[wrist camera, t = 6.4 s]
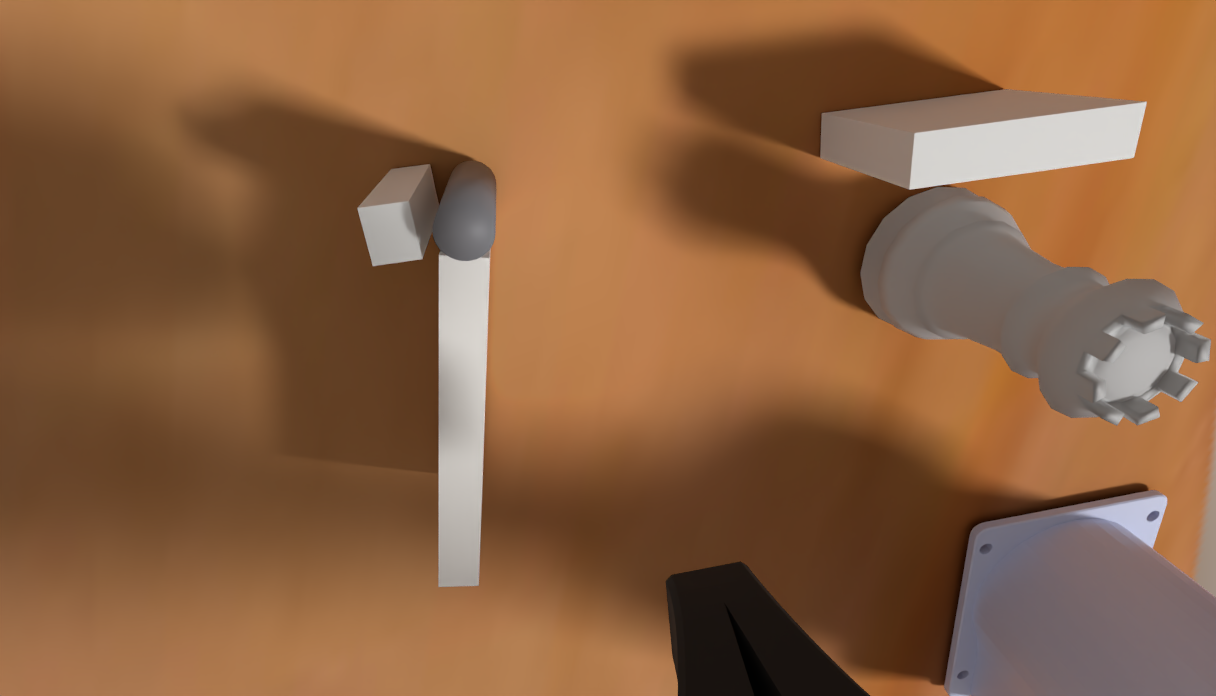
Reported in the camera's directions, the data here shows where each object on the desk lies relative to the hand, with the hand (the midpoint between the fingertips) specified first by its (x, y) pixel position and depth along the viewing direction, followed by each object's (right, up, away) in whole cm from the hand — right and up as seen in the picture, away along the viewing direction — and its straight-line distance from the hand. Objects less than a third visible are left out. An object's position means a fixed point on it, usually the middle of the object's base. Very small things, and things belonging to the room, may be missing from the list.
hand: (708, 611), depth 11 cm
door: (-6, +5, +7) cm, 11 cm away
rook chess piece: (+8, +7, +9) cm, 14 cm away
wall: (+1, +10, +7) cm, 12 cm away
